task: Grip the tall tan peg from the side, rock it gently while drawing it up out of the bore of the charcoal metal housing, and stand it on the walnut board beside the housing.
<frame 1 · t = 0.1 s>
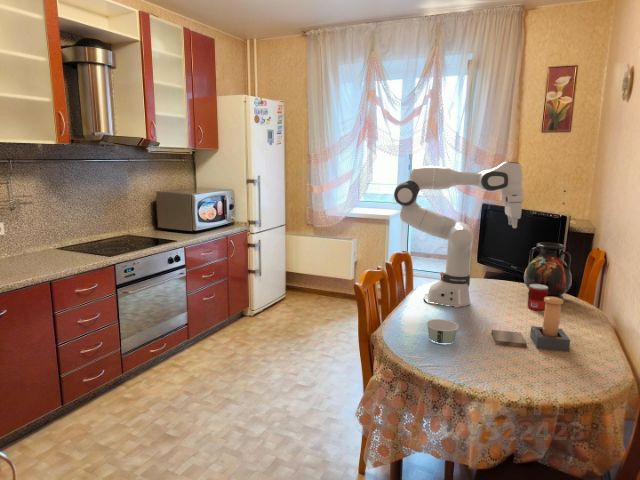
hand: (512, 226, 203), 39 cm above the table, tool pointing down, fingers open, 8 cm apart
walnut board: (508, 339, 170), on the table
tan peg: (551, 321, 165), in the metal housing
amphora vase: (545, 298, 222), on the table
food container: (441, 340, 170), on the table
canned food: (536, 308, 207), on the table
metal housing: (548, 343, 167), on the table
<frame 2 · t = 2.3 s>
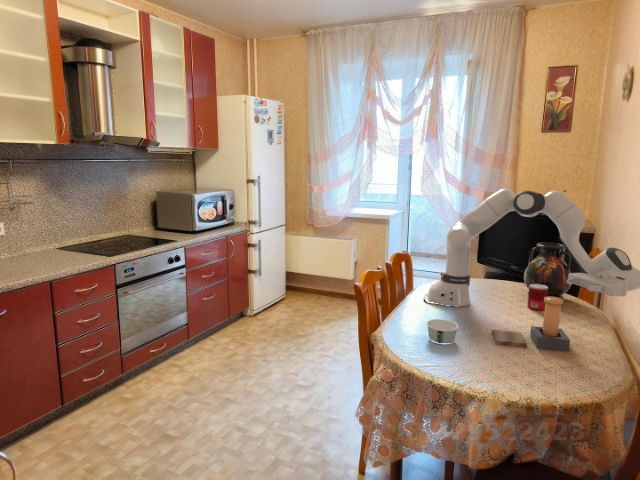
hand: (578, 285, 166), 22 cm above the table, tool horizontal, fingers open, 8 cm apart
nothing on the table moved.
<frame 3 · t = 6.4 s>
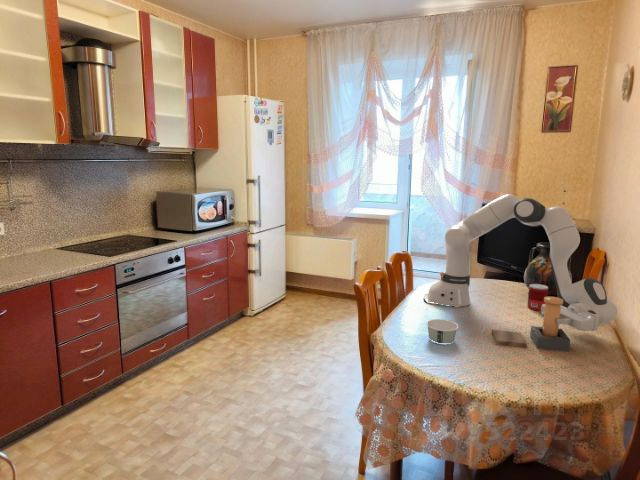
hand: (549, 318, 165), 11 cm above the table, tool horizontal, fingers closed on tan peg, 5 cm apart
tan peg: (551, 321, 165), in the metal housing, touching gripper
everything else where it was.
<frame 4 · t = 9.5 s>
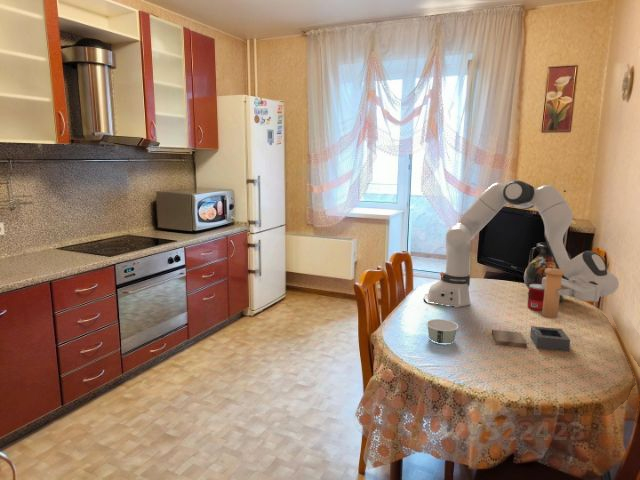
hand: (550, 289, 163), 22 cm above the table, tool horizontal, fingers closed on tan peg, 5 cm apart
tan peg: (552, 293, 163), point 20 cm above the table, touching gripper
everything else where it was.
when the fingers open (13 cm above the table, at t = 12.5 s): tan peg stays where it is, resting on walnut board.
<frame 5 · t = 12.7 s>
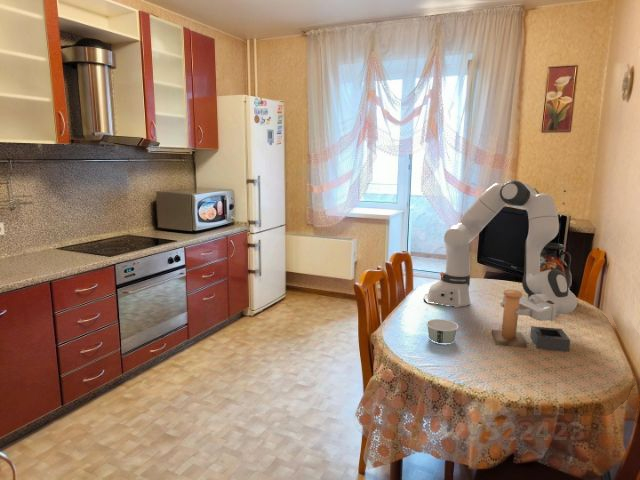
hand: (509, 308, 168), 13 cm above the table, tool horizontal, fingers open, 7 cm apart
tan peg: (510, 314, 168), on the walnut board, point 10 cm above the table
everything else where it was.
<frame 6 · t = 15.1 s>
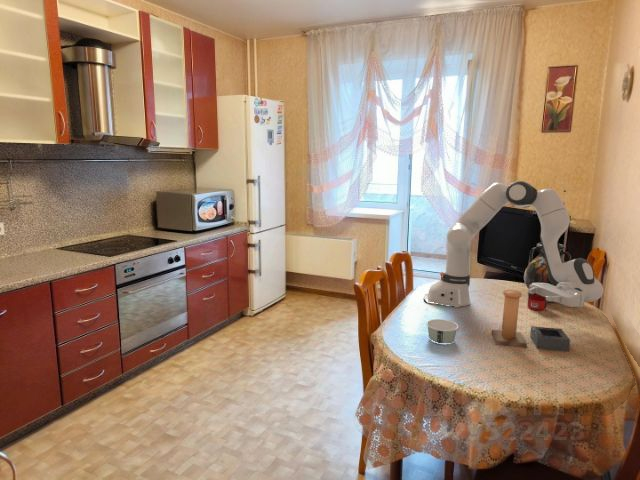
hand: (538, 294, 173), 17 cm above the table, tool horizontal, fingers open, 8 cm apart
nothing on the table moved.
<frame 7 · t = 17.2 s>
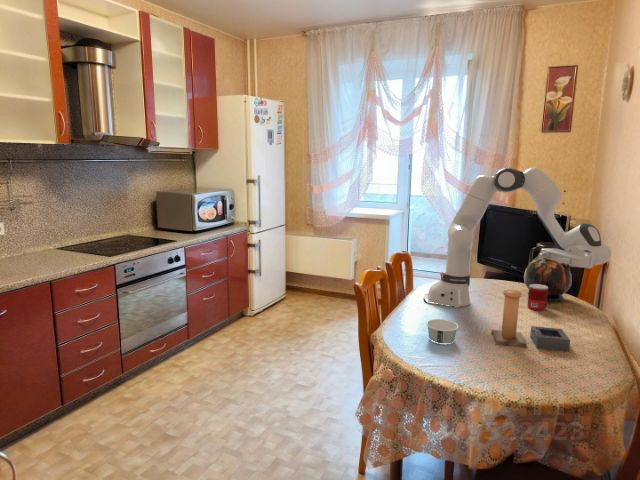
hand: (548, 258, 178), 30 cm above the table, tool horizontal, fingers open, 8 cm apart
nothing on the table moved.
at the end: tan peg 0.1 cm off-centre on the walnut board, point 10.5 cm above the walnut board's base; tan peg tilted 0°; the gripper is holding nothing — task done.
